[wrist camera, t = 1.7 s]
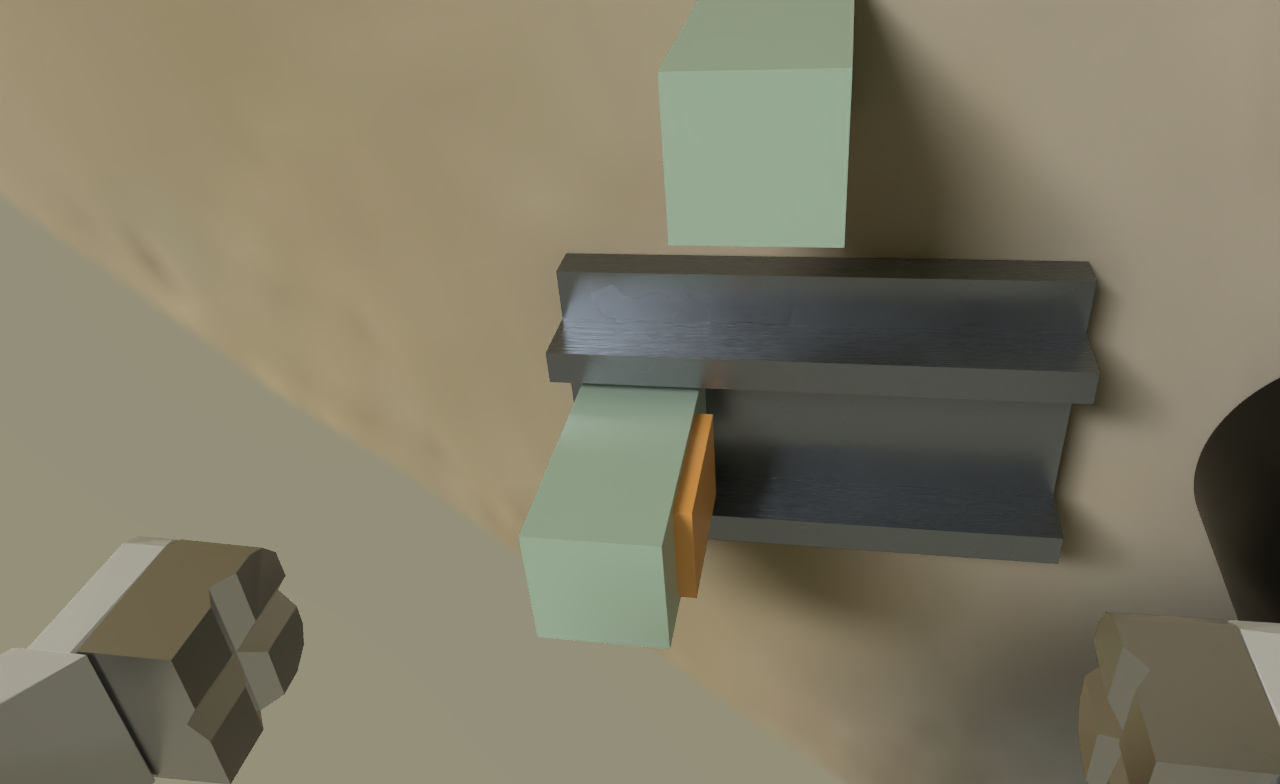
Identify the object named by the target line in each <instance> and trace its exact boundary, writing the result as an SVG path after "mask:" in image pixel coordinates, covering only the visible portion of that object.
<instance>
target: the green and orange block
mask: <svg viewBox="0 0 1280 784" xmlns="http://www.w3.org/2000/svg"><path fill="white" fill-rule="evenodd" d="M715 497H716V478H715V453H714V428H713V414H706V393H705V388H686V387H662V386H638V385H614V384H590V383H582V385H581V387H580V389H579V392H578V394H577V397H576V399H575V402H574V404H573V406H572V409H571V411H570V414H569V416H568V418H567V421H566V423H565V426H564V428H563V431H562V433H561V435H560V438H559V440H558V443H557V445H556V447H555V450H554V452H553V455H552V457H551V460H550V462H549V464H548V467H547V469H546V472H545V474H544V476H543V479H542V481H541V484H540V486H539V489H538V491H537V493H536V496H535V498H534V501H533V503H532V505H531V508H530V510H529V513H528V515H527V518H526V520H525V522H524V525H523V527H522V530H521V532H520V535H519V541H520V546H521V552H522V557H523V562H524V567H525V573H526V578H527V583H528V589H529V594H530V599H531V605H532V610H533V615H534V620H535V625H536V631H537V636H538V637H546V638H556V639H567V640H578V641H589V642H600V643H610V644H621V645H632V646H643V647H653V648H664V649H670V646H671V642H672V637H673V632H674V627H675V622H676V617H677V612H678V607H679V602H680V598H681V597H692V598H697V594H698V589H699V583H700V578H701V572H702V567H703V562H704V556H705V551H706V545H707V540H708V535H709V529H710V524H711V519H712V513H713V508H714V502H715Z"/></svg>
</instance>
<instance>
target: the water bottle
mask: <svg viewBox="0 0 1280 784" xmlns="http://www.w3.org/2000/svg"><path fill="white" fill-rule="evenodd" d="M1194 495H1195V501H1196V505H1197V508H1198V511H1199V513H1200V516H1201V519H1202V522H1203V524H1204V527H1205V530H1206V533H1207V535H1208V538H1209V541H1210V544H1211V546H1212V549H1213V552H1214V555H1215V557H1216V560H1217V563H1218V566H1219V568H1220V571H1221V574H1222V577H1223V579H1224V582H1225V585H1226V588H1227V590H1228V593H1229V596H1230V599H1231V601H1232V604H1233V607H1234V610H1235V612H1236V615H1237V618H1238V620H1239V621H1252V622H1267V623H1280V378H1279V379H1277V380H1275V381H1273V382H1271V383H1270V384H1268V385H1266V386H1265V387H1263V388H1261V389H1260V390H1258V391H1257V392H1255V393H1254V394H1252V395H1251V396H1249V397H1248V398H1247V399H1245V400H1244V401H1243V402H1242V403H1240V404H1239V405H1238V406H1237V407H1236V408H1235V409H1234V410H1232V411H1231V412H1230V413H1229V414H1228V415H1227V416H1226V417H1225V418H1224V420H1223V421H1222V422H1221V423H1220V424H1219V425H1218V427H1217V428H1216V429H1215V430H1214V432H1213V433H1212V435H1211V436H1210V438H1209V439H1208V441H1207V443H1206V444H1205V446H1204V448H1203V450H1202V452H1201V455H1200V457H1199V460H1198V463H1197V467H1196V471H1195V477H1194Z"/></svg>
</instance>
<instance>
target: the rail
mask: <svg viewBox="0 0 1280 784" xmlns="http://www.w3.org/2000/svg"><path fill="white" fill-rule="evenodd" d="M556 272H557V280H558V287H559V295H560V302H561V310H562V317H563V319H562V321H561V323H560V325H559V327H558V329H557V331H556V333H555V335H554V337H553V339H552V341H551V343H550V345H549V348H548V350H547V352H546V358H547V365H548V371H549V378H550V382H566V383H571V384H572V392H573V399H574V402H575V399H576V397H577V394H578V392H579V389H580V387H581V385H582V383H590V384H614V385H638V386H662V387H686V388H705V393H706V414H713V428H714V453H715V478H716V497H715V502H714V508H713V513H712V519H711V524H710V529H709V535H708V539H714V540H728V541H743V542H757V543H771V544H785V545H799V546H813V547H827V548H842V549H856V550H870V551H884V552H898V553H912V554H926V555H941V556H955V557H969V558H983V559H997V560H1011V561H1025V562H1040V563H1054V564H1058V562H1059V558H1060V553H1061V549H1062V544H1063V539H1064V538H1063V534H1062V530H1061V526H1060V522H1059V517H1058V513H1057V509H1056V505H1055V501H1054V497H1053V493H1054V488H1055V483H1056V478H1057V473H1058V469H1059V464H1060V459H1061V454H1062V449H1063V444H1064V439H1065V435H1066V430H1067V425H1068V420H1069V415H1070V410H1071V405H1072V404H1094V399H1095V395H1096V390H1097V386H1098V381H1099V376H1100V371H1099V368H1098V365H1097V362H1096V359H1095V357H1094V354H1093V351H1092V348H1091V345H1090V343H1089V340H1088V337H1087V334H1086V333H1087V328H1088V323H1089V318H1090V313H1091V308H1092V303H1093V299H1094V294H1095V289H1096V284H1097V281H1096V279H1095V276H1094V274H1093V271H1092V269H1091V266H1090V264H1089V262H1071V261H1008V260H944V259H881V258H818V257H755V256H692V255H628V254H566V255H565V257H564V259H563V260H562V262H561V264H560V266H559V268H558V270H557V271H556Z"/></svg>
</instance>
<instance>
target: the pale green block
mask: <svg viewBox="0 0 1280 784" xmlns="http://www.w3.org/2000/svg"><path fill="white" fill-rule="evenodd" d="M853 33H854V0H697V2H696V4H695V6H694V8H693V9H692V11H691V13H690V15H689V17H688V18H687V20H686V22H685V24H684V26H683V27H682V29H681V31H680V33H679V34H678V36H677V38H676V40H675V42H674V43H673V45H672V47H671V49H670V51H669V52H668V54H667V56H666V58H665V60H664V61H663V63H662V65H661V67H660V68H659V70H658V86H659V102H660V118H661V134H662V150H663V166H664V181H665V197H666V213H667V229H668V245H677V246H749V247H820V248H844V243H845V222H846V200H847V178H848V156H849V134H850V112H851V90H852V68H853Z"/></svg>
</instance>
